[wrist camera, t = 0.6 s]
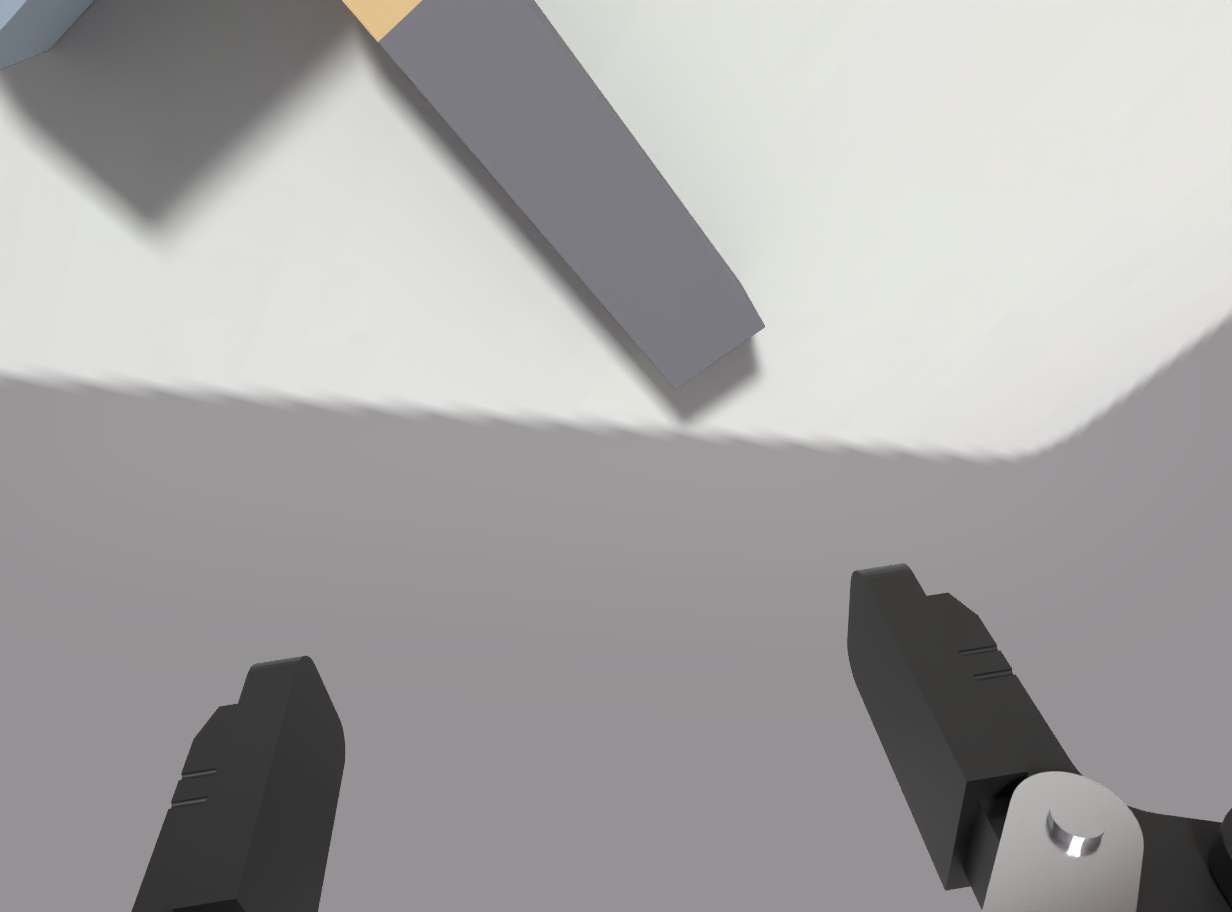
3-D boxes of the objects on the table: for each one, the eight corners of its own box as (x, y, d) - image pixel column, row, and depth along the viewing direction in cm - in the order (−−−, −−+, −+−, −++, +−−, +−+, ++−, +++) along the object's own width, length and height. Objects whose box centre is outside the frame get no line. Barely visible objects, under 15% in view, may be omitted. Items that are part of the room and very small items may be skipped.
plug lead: (416, -161, 25) (403, -166, 22) (740, 283, 34) (765, 326, 31) (321, -64, 26) (295, -55, 23) (659, 341, 35) (675, 389, 32)
